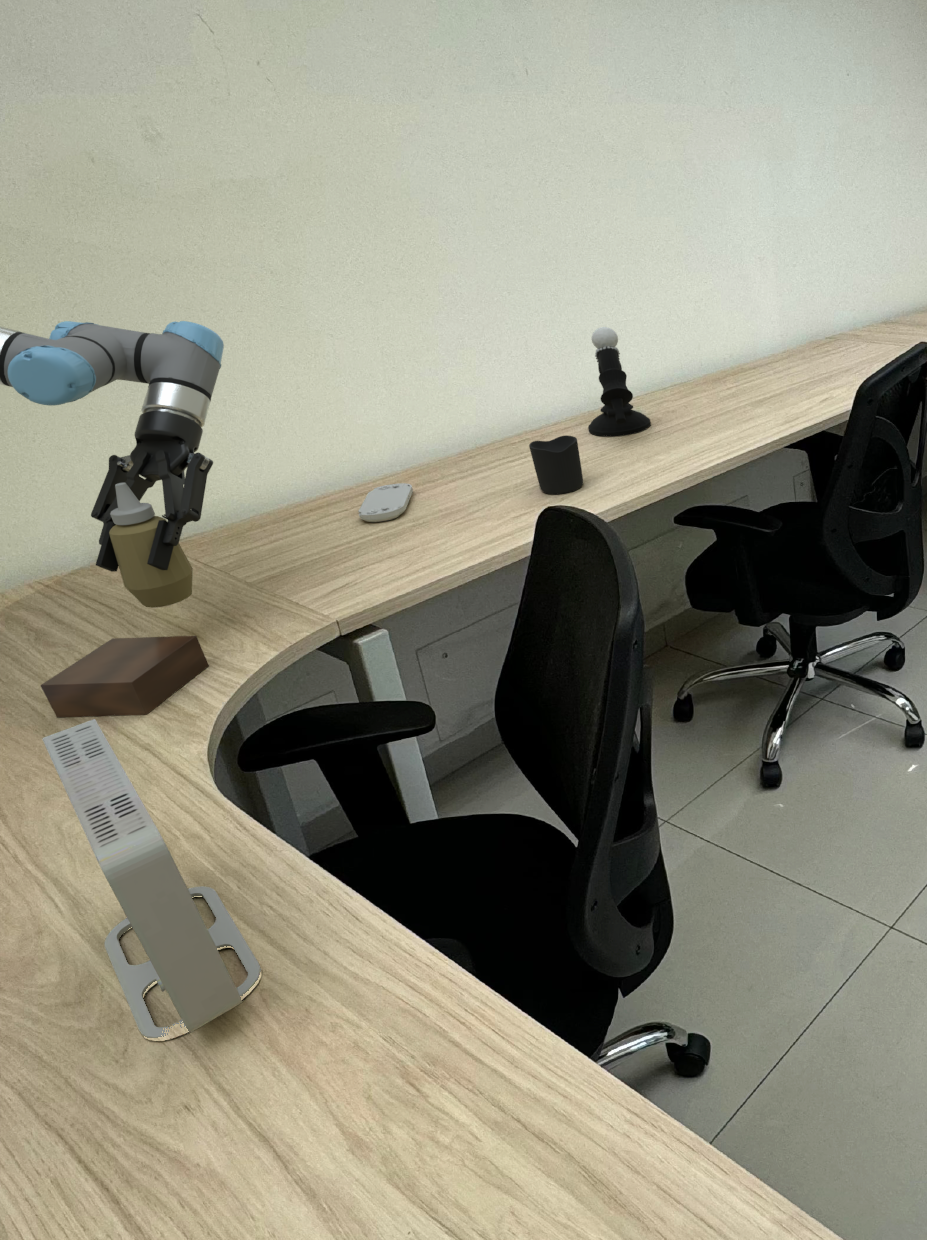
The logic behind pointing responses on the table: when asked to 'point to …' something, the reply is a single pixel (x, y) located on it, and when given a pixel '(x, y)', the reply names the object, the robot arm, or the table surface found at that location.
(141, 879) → the network device
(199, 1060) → the table surface
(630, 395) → the sculpture
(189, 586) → the squeeze bottle
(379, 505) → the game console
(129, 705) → the riser
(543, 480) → the pen holder
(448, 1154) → the table surface
